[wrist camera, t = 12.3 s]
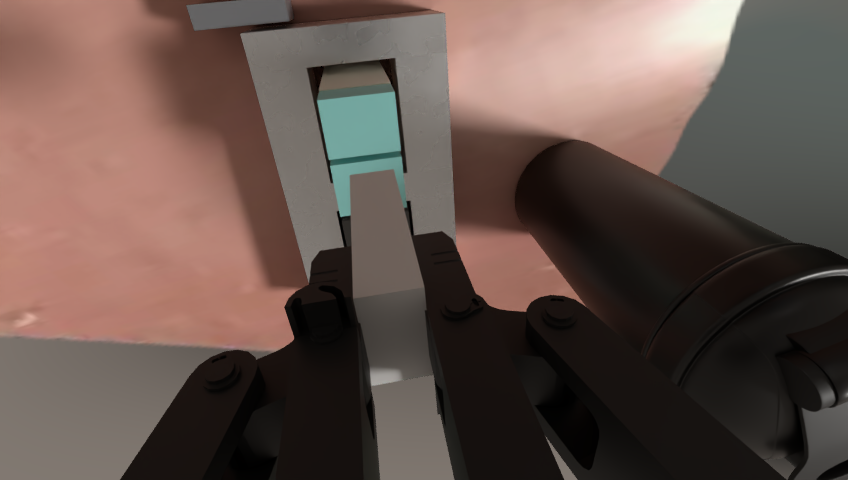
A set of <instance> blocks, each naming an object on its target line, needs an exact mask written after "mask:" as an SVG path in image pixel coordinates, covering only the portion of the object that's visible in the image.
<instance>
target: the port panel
mask: <svg viewBox="0 0 848 480" xmlns="http://www.w3.org/2000/svg"><path fill="white" fill-rule="evenodd" d="M240 35H241V39H242V42H243V46H244V49H245V53H246V57H247V60H248V64H249V68H250V71H251V75H252V79H253V82H254V86H255V89H256V93H257V97H258V100H259V104H260V108H261V111H262V115H263V119H264V122H265V126H266V130H267V133H268V137H269V140H270V144H271V148H272V151H273V155H274V159H275V162H276V166H277V170H278V173H279V177H280V180H281V184H282V188H283V191H284V195H285V199H286V202H287V206H288V210H289V213H290V217H291V220H292V224H293V228H294V231H295V235H296V239H297V242H298V246H299V250H300V253H301V257H302V261H303V264H304V268H305V271H306V275H307V279H308V282H309V278H310V270H311V262H312V261H313V259H314V258H315V257H316V255H317V254H318V253H319V251H321V250H328V249H334V248H341V247H348V246H352V243H351V215H350V216H343V217H340V213H339V208H338V203H337V198H336V193H335V188H334V183H333V178H332V173H331V168H330V160H329V158H328V153H327V148H326V143H325V138H324V133H323V128H322V123H321V118H320V113H319V108H318V103H317V98H318V91H317V86H316V81H315V76H314V71H313V67H318V66H327V65H336V64H345V63H354V62H363V61H372V60H381V59H390V65H391V73H392V82H393V89H394V91H395V99H396V109H397V118H398V127H399V137H400V146H401V151H400V154H401V156H402V165H403V174H404V184H405V193H406V203H407V207H406V208H404V211H405V214H406V218H407V222H408V226H409V230H410V234H411V236H413V235H419V234H426V233H433V232H439V231H443V232H444V233H445V234H447V235H448V236H449V237H451V238H452V239H453V241H454V243H455V245H456V231H455V210H454V189H453V168H452V147H451V126H450V105H449V84H448V63H447V42H446V21H445V13H443V12H439V11H435V10H426V11H416V12H406V13H396V14H386V15H376V16H366V17H356V18H346V19H336V20H326V21H316V22H306V23H296V24H286V25H276V26H266V27H256V28H252V29H250V30H247V31H245V32H243V33H241V34H240Z"/></svg>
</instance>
